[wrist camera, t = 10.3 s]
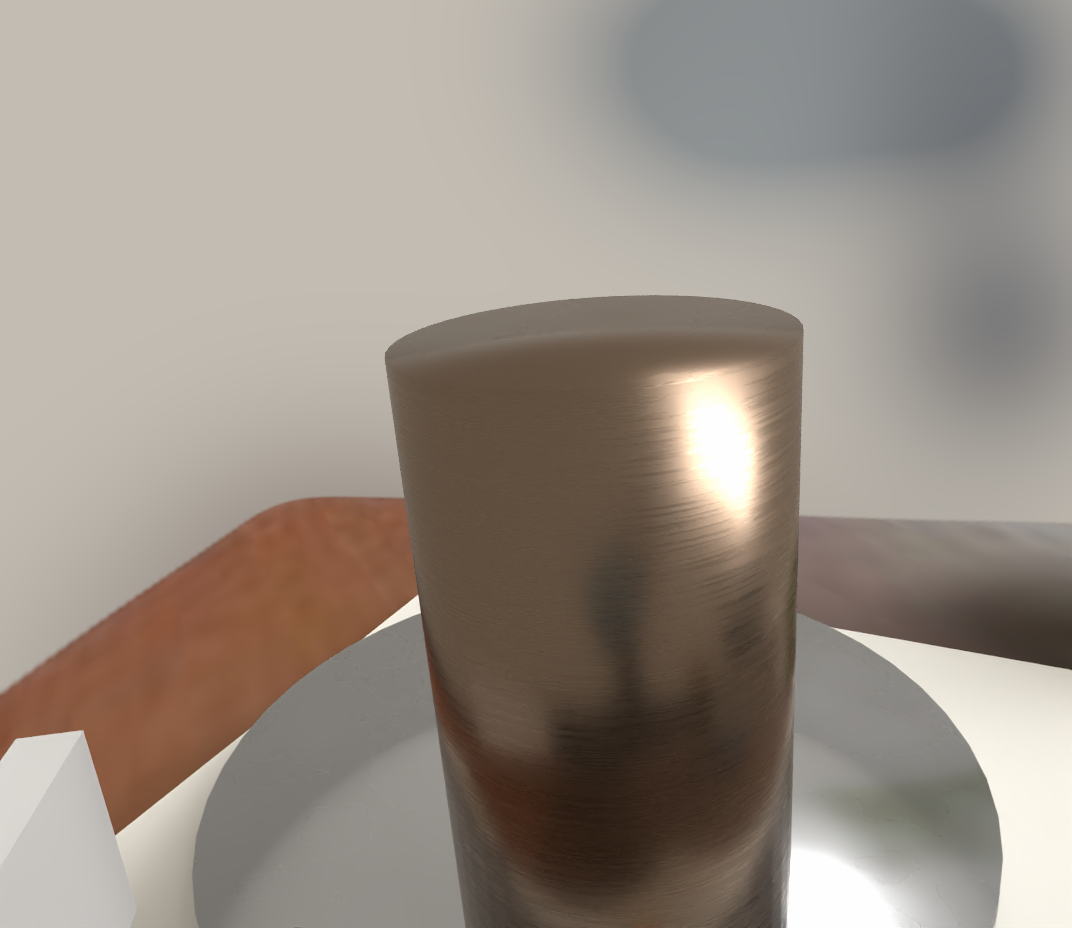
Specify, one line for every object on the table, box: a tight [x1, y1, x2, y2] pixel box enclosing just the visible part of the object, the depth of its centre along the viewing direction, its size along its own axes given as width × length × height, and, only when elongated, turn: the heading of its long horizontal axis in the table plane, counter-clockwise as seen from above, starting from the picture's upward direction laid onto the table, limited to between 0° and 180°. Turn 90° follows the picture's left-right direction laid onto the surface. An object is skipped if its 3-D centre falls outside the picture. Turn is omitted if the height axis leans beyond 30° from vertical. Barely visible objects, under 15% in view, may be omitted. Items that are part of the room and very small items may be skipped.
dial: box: [192, 295, 1003, 928], centre depth 19 cm, size 17×17×12 cm
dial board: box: [115, 595, 1072, 928], centre depth 21 cm, size 20×20×2 cm
